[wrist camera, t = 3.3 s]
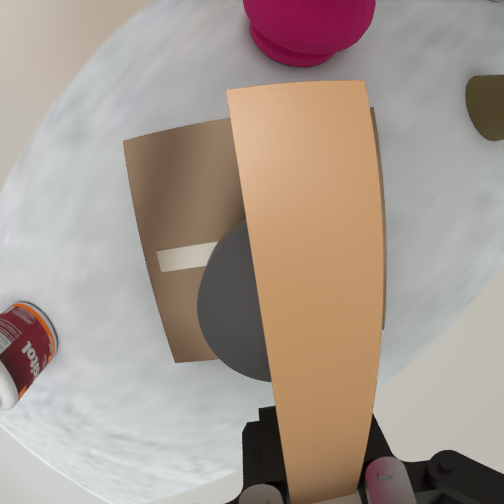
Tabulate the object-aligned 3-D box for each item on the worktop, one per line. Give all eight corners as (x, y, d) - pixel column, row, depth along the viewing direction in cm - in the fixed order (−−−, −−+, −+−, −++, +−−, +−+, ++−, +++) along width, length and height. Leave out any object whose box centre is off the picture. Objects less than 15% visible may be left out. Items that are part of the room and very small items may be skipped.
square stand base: (366, 110, 18) (431, 85, 10) (378, 322, 22) (425, 383, 14) (129, 142, 18) (66, 131, 10) (177, 354, 22) (156, 428, 15)
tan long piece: (345, 126, 10) (486, 87, 3) (356, 383, 14) (412, 500, 6) (176, 149, 10) (64, 124, 3) (231, 405, 14) (230, 538, 6)
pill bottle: (59, 368, 23) (4, 445, 12) (12, 340, 22) (-49, 403, 11) (60, 316, 21) (-14, 395, 11) (10, 289, 20) (-68, 346, 10)
